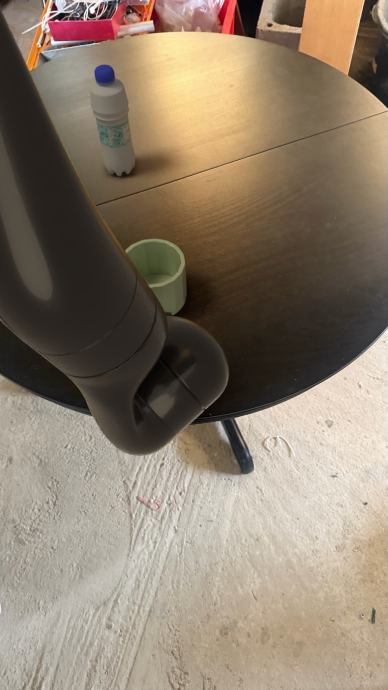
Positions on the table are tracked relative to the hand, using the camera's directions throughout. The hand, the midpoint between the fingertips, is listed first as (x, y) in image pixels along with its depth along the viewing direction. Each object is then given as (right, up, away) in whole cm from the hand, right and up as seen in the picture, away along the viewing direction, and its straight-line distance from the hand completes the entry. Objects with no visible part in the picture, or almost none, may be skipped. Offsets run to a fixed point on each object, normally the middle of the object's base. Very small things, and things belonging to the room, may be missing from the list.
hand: (113, 329), depth 66 cm
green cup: (+5, +6, +11) cm, 14 cm away
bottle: (-4, +33, +30) cm, 45 cm away
